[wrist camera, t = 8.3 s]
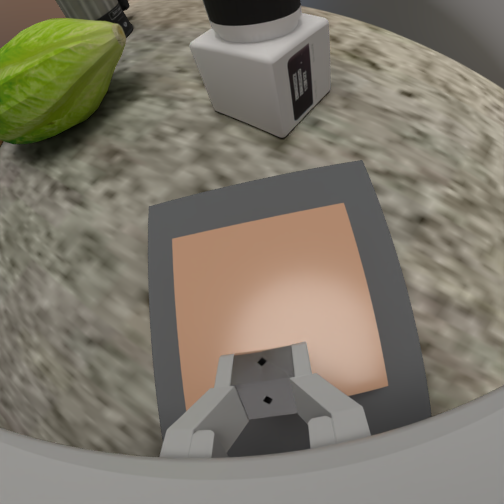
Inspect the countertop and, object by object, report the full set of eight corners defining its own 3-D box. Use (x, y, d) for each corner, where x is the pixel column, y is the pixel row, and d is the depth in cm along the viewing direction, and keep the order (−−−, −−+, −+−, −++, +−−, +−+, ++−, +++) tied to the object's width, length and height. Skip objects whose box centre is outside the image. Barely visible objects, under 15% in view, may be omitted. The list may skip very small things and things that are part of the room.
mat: (175, 487, 15) (171, 489, 15) (151, 209, 23) (148, 206, 22) (431, 450, 13) (434, 452, 13) (361, 164, 21) (362, 160, 21)
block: (187, 416, 14) (172, 238, 18) (204, 411, 16) (188, 255, 20) (388, 385, 13) (343, 202, 17) (377, 384, 15) (340, 224, 19)
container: (332, 90, 25) (325, -42, 13) (283, 141, 23) (254, -14, 11) (264, 67, 27) (237, -46, 16) (212, 111, 26) (163, -13, 14)
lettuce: (153, 43, 33) (146, 126, 28) (29, 104, 35) (6, 189, 31) (108, -38, 19) (69, 25, 15) (-24, 54, 21) (-70, 143, 17)
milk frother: (129, 41, 37) (92, -29, 24) (52, 80, 39) (10, 24, 25) (140, 12, 43) (113, -45, 29) (73, 44, 45) (42, -4, 31)
